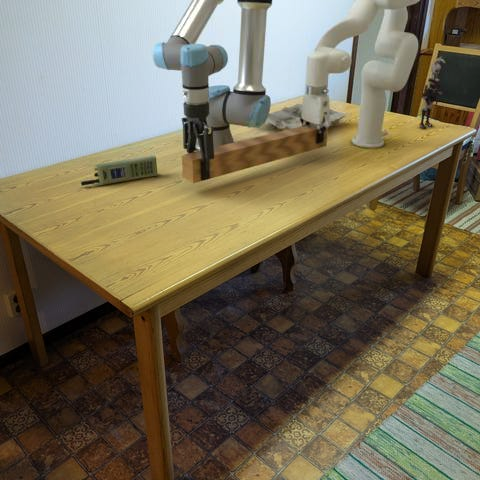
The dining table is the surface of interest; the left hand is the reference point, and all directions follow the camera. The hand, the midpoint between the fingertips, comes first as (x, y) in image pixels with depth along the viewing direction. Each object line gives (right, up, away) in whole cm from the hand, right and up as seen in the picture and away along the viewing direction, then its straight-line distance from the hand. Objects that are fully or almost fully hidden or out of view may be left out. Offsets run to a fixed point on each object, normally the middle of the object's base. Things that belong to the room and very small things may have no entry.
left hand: (199, 175), depth 158 cm
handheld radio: (-27, -1, +8) cm, 28 cm away
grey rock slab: (+39, +29, +63) cm, 79 cm away
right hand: (+39, +16, +25) cm, 49 cm away
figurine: (+94, +30, +65) cm, 118 cm away
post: (+19, +7, +13) cm, 25 cm away
